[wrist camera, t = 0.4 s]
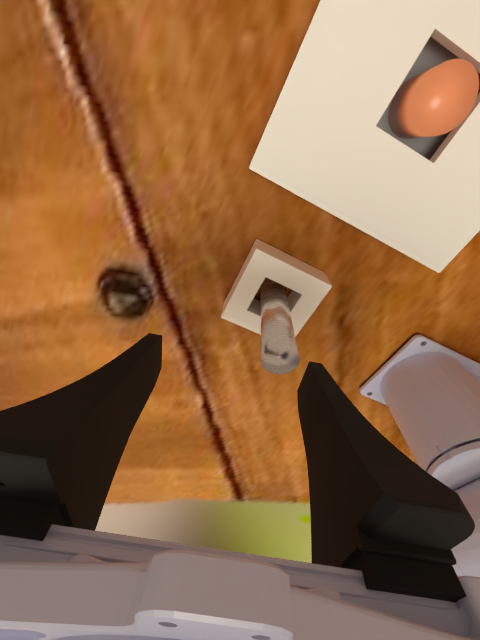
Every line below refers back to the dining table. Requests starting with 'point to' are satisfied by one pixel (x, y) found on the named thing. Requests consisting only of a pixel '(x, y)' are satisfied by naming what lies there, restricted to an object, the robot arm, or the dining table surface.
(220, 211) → the dining table surface
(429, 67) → the button
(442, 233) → the white slotted stand
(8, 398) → the dining table surface
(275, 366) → the stylus
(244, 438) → the dining table surface
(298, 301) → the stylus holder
